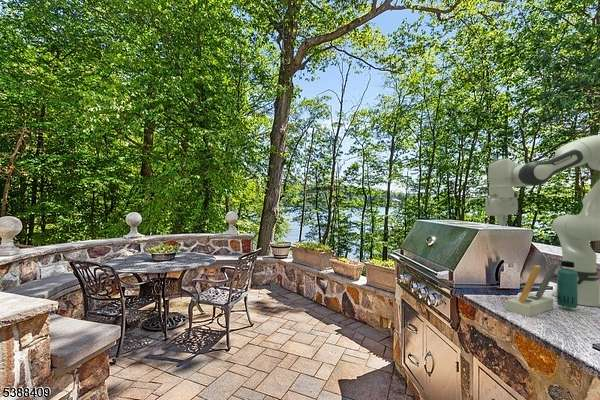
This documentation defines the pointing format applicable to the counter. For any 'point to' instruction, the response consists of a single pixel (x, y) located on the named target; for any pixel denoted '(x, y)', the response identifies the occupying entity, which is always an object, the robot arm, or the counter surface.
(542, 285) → the bar
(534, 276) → the orange bar
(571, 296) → the beverage bottle
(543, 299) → the cream base with pads
